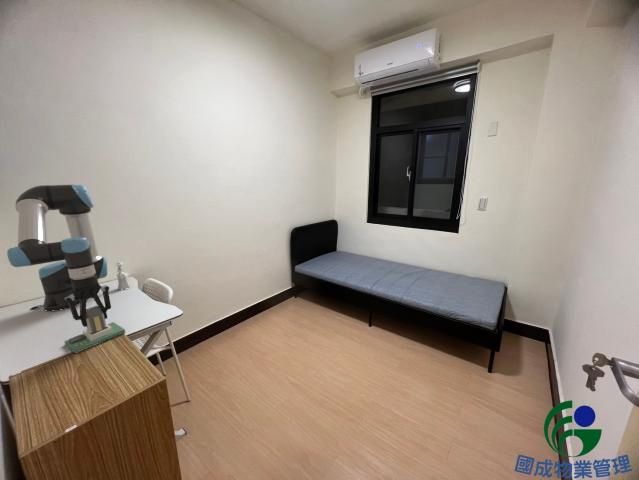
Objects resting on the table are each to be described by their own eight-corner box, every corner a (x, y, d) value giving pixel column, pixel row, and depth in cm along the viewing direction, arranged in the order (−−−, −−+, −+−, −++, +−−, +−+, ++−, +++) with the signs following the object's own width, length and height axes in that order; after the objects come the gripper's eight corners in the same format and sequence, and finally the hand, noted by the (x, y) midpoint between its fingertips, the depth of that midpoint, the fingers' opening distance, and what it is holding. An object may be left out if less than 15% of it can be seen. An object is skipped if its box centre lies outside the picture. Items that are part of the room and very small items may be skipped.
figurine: (116, 288, 154) (109, 261, 150) (131, 284, 160) (126, 257, 156) (118, 291, 150) (112, 263, 146) (134, 287, 156) (129, 259, 152)
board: (65, 344, 99) (63, 336, 98) (113, 325, 112) (112, 317, 112) (75, 354, 93) (72, 345, 92) (125, 332, 106) (123, 324, 105)
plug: (89, 331, 102) (83, 309, 100) (101, 327, 105) (96, 305, 103) (93, 335, 100) (88, 312, 98) (106, 330, 103) (100, 308, 101)
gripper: (55, 286, 89) (72, 343, 94) (113, 271, 103) (125, 321, 108) (50, 282, 92) (66, 337, 98) (106, 268, 106) (118, 317, 112)
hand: (97, 329), depth 103 cm, fingers closed on plug, 4 cm apart
